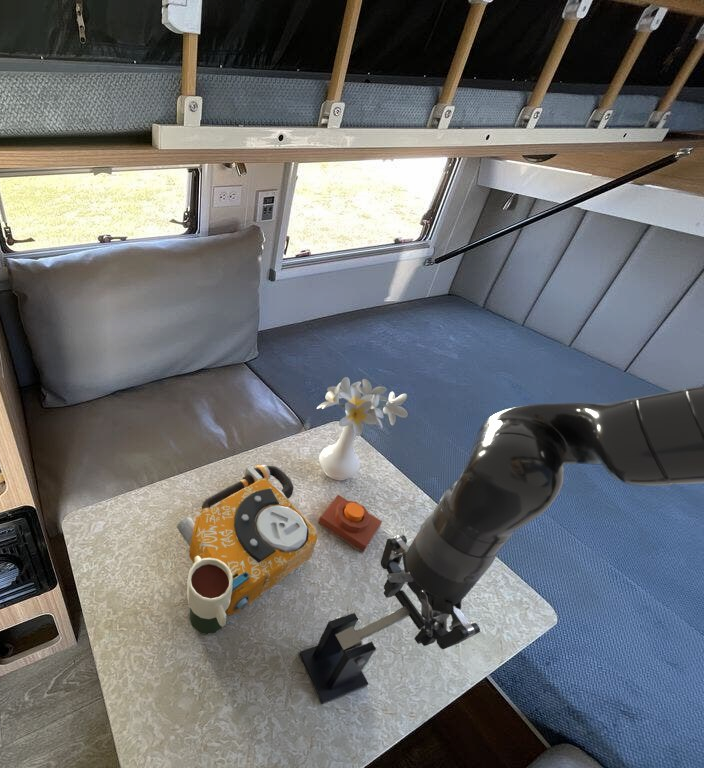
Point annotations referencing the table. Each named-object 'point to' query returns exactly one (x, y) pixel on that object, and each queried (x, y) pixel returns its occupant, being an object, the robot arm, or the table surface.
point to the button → (354, 512)
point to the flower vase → (355, 423)
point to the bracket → (336, 662)
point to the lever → (380, 624)
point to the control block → (349, 524)
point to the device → (252, 533)
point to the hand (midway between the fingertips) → (405, 615)
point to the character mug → (208, 594)
